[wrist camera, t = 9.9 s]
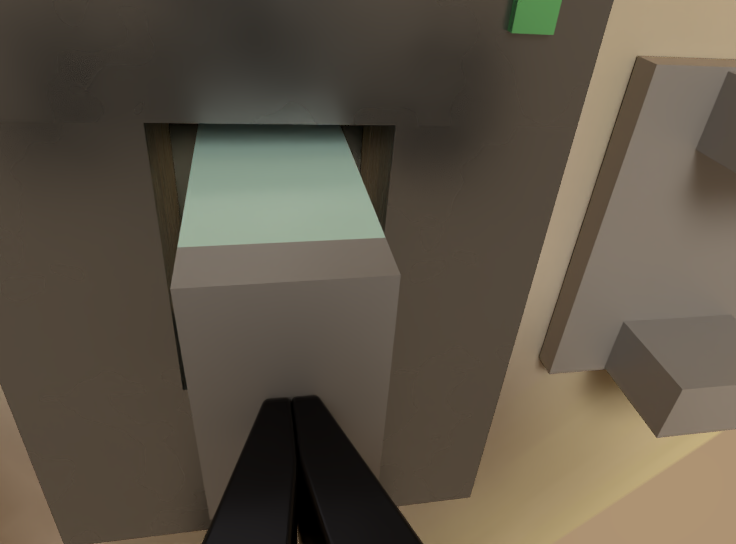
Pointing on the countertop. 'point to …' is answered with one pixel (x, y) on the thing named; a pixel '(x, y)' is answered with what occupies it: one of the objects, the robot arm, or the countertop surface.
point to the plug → (281, 288)
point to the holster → (661, 252)
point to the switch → (162, 221)
